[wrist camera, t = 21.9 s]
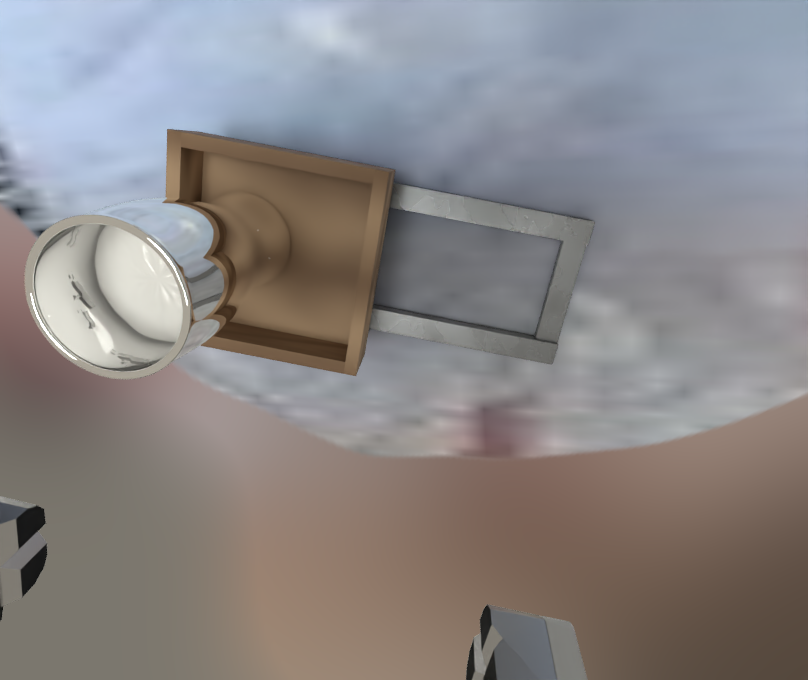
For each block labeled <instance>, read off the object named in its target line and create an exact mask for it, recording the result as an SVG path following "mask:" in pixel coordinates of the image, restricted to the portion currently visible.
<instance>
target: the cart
mask: <svg viewBox="0 0 808 680" xmlns="http://www.w3.org/2000/svg"><path fill="white" fill-rule="evenodd" d="M394 176H395V170H394V169H389V168H384V167H379V166H374V165H369V164H363V163H358V162H353V161H348V160H343V159H338V158H332V157H327V156H322V155H317V154H312V153H307V152H301V151H296V150H291V149H286V148H281V147H275V146H270V145H265V144H260V143H255V142H250V141H244V140H239V139H234V138H229V137H224V136H219V135H213V134H208V133H203V132H197V131H184V130H172V129H167V166H166V197H167V198H180V199H189V200H194V201H200V202H205V203H210V202H211V201H212V200H214V199H216V198H217V197H219V196H221V195H224V194H227V193H232V192H246V193H251V194H254V195H257V196H259V197H261V198H263V199H265V200H266V201H268V202H269V203H270V204H272V205H273V206H274V207H275V208H276V209H277V210H278V211H279V213H280V214H281V215H282V217H283V219H284V220H285V222H286V225H287V227H288V230H289V234H290V241H291V248H290V255H289V258H288V261H287V263H286V265H285V267H284V269H283V270H282V272H281V273H280V274H279V275H278V276H277V277H276V278H274V279H273V280H272V281H270V282H268V283H266V284H264V285H261V286H257V287H253V288H252V289H251V291H250V293H249V295H248V296H247V298H246V300H245V301H244V303H243V305H242V306H241V307H240V309H239V310H238V311H237V313H236V314H235V315H234V317H233V318H232V319H231V320H230V321H229V322H228V323H227V324H226V325H225V326H224V327H223V328H222V329H221V330H220V331H219V332H217V333H216V334H215V335H214V336H213V337H211V338H210V339H209V340H207V341H206V342H204V343H203V344H202V345H201V346H206V347H211V348H216V349H221V350H226V351H231V352H236V353H241V354H246V355H251V356H257V357H262V358H267V359H272V360H277V361H282V362H287V363H292V364H297V365H302V366H307V367H313V368H318V369H323V370H328V371H333V372H338V373H343V374H348V375H353V376H356V374H357V372H358V369H359V367H360V364H361V362H362V359H363V357H364V354H365V349H366V343H367V337H368V331H369V325H370V319H371V313H372V307H373V301H374V295H375V289H376V283H377V277H378V271H379V265H380V260H381V254H382V248H383V242H384V236H385V230H386V224H387V218H388V212H389V206H390V200H391V194H392V188H393V182H394Z"/></svg>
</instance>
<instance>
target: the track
mask: <svg viewBox="0 0 808 680" xmlns="http://www.w3.org/2000/svg"><path fill="white" fill-rule="evenodd" d="M389 207H392V208H397V209H402V210H407V211H412V212H418V213H423V214H428V215H433V216H438V217H443V218H449V219H454V220H459V221H464V222H469V223H474V224H480V225H485V226H490V227H495V228H500V229H505V230H510V231H516V232H521V233H526V234H531V235H536V236H541V237H547V238H552V239H557V240H562V241H561V244H560V248H559V251H558V255H557V259H556V262H555V266H554V269H553V273H552V276H551V280H550V283H549V287H548V290H547V294H546V297H545V301H544V304H543V308H542V311H541V315H540V319H539V322H538V326H537V329H536V333H535V336H531V335H526V334H521V333H516V332H511V331H506V330H501V329H495V328H490V327H485V326H480V325H475V324H470V323H465V322H460V321H455V320H449V319H444V318H439V317H434V316H429V315H424V314H419V313H414V312H408V311H403V310H398V309H393V308H388V307H383V306H378V305H373V307H372V313H371V319H370V325H369V329H373V330H378V331H383V332H388V333H393V334H399V335H404V336H409V337H414V338H419V339H424V340H429V341H434V342H439V343H445V344H450V345H455V346H460V347H465V348H470V349H475V350H480V351H485V352H491V353H496V354H501V355H506V356H511V357H516V358H521V359H526V360H531V361H537V362H542V363H547V364H552V363H553V360H554V357H555V353H556V350H557V347H558V344H557V341H558V338H559V335H560V331H561V328H562V325H563V321H564V318H565V315H566V311H567V308H568V305H569V301H570V298H571V295H572V291H573V288H574V285H575V282H576V278H577V275H578V272H579V268H580V265H581V262H582V258H583V255H584V252H585V248H586V245H588V244H589V241H590V237H591V234H592V231H593V228H594V224H595V222H594V221H591V220H586V219H581V218H576V217H571V216H566V215H561V214H555V213H550V212H545V211H540V210H535V209H530V208H524V207H519V206H514V205H509V204H504V203H499V202H493V201H488V200H483V199H478V198H473V197H468V196H462V195H457V194H452V193H447V192H442V191H437V190H431V189H426V188H421V187H416V186H411V185H406V184H400V183H395V182H393V188H392V194H391V200H390V206H389Z"/></svg>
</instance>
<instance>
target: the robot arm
mask: <svg viewBox="0 0 808 680" xmlns="http://www.w3.org/2000/svg"><path fill="white" fill-rule="evenodd" d="M45 524H46V521H45V512H44V509H43V508H41V507H39V506H37V505H33V504H30V503H25V502H22V501H18V500H13V499H10V498H5V497H2V496H0V621H1V620H2V613H3V606H5V605H8V604H10V603H12V602H14V601H16V600H18V599H20V598H22V597H23V596H24V595H25V594H26V593H27V592H28V591H29V590H30V589H31V587H32V586H33V585H34V584H35V583H36V581H37V579H38V577H39V575H40V573H41V572H42V570H43V568H44V566H45V562H46V557H47V543H46V541H45V540H44V539H43V537H42V536H41V535H40V533H39V532H38V531H39V530H40V529H41V528H42V527H43V526H44V525H45ZM480 628H481V629H480V630H481V631H480V632H481V633H480V634H479V635H477V636H476V637H474V638H473V642H472V645H471V648H470V651H469V657H468V664H467V671H466V680H587V676H586V672H585V669H584V665H583V661H582V657H581V653H580V650H579V646H578V642H577V638H576V634H575V631H574V627H573V626H572V624H571V623H570V622H568V621H564V620H558V619H554V618H549V617H545V616H539V615H535V614H530V613H525V612H521V611H516V610H511V609H506V608H502V607H497V606H492V605H486V607H485V608H484V610H483V612H482V615H481V618H480Z"/></svg>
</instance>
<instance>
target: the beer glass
mask: <svg viewBox="0 0 808 680" xmlns="http://www.w3.org/2000/svg"><path fill="white" fill-rule="evenodd" d="M290 248H291V241H290V234H289V230H288V227H287V225H286V222H285V220H284V219H283V217H282V215H281V214H280V213H279V211H278V210H277V209H276V208H275V207H274V206H273V205H272V204H270V203H269V202H268V201H266V200H265V199H263V198H261V197H259V196H257V195H254V194H251V193H246V192H232V193H227V194H224V195H221V196H219V197H217V198H216V199H214V200H212V201H211V202H210V203H205V202H200V201H194V200H189V199H180V198H167V197H161V198H149V199H139V200H133V201H129V202H124V203H119V204H115V205H112V206H108V207H105V208H102V209H98V210H95V211H92V212H89V213H86V214H83V215H77V216H72V217H69V218H66V219H63V220H61V221H59V222H57V223H55V224H54V225H52V226H51V227H49V228H48V229H47V230H45V231H44V232H43V233H42V234H41V235H40V237H39V238H38V239H37V240H36V242H35V243H34V245H33V247H32V249H31V251H30V253H29V256H28V259H27V262H26V267H25V275H24V276H25V277H24V284H25V293H26V298H27V302H28V306H29V309H30V311H31V314H32V316H33V318H34V320H35V322H36V324H37V326H38V328H39V329H40V331H41V332H42V334H43V335H44V337H45V338H46V339H47V340H48V342H50V344H51V345H52V346H53V347H54V348H55V349H56V350H57V351H58V352H59V353H60V354H61V355H63V356H64V357H65V358H66V359H68V360H69V361H71V362H72V363H74V364H76V365H77V366H79V367H81V368H82V369H84V370H87V371H89V372H91V373H94V374H97V375H100V376H103V377H108V378H114V379H136V378H142V377H146V376H148V375H152V374H154V373H156V372H158V371H160V370H162V369H163V368H165V367H166V366H167V365H169V364H170V363H171V362H173V361H175V360H177V359H179V358H180V357H182V356H184V355H186V354H187V353H189V352H191V351H192V350H194V349H196V348H197V347H199V346H200V345H202V344H203V343H204V342H206V341H207V340H209V339H210V338H211V337H213V336H214V335H215V334H216V333H217V332H219V331H220V330H221V329H222V328H223V327H224V326H225V325H226V324H227V323H228V322H229V321H230V320H231V319H232V318H233V317H234V315H235V314H236V313H237V311H238V310H239V309H240V307H241V306H242V305H243V303H244V301H245V300H246V298H247V296H248V295H249V293H250V291H251V289H252V288H253V287H257V286H261V285H264V284H266V283H268V282H270V281H272V280H273V279H274V278H276V277H277V276H278V275H279V274H280V273H281V272H282V270H283V269H284V267H285V265H286V263H287V261H288V258H289V255H290Z"/></svg>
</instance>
